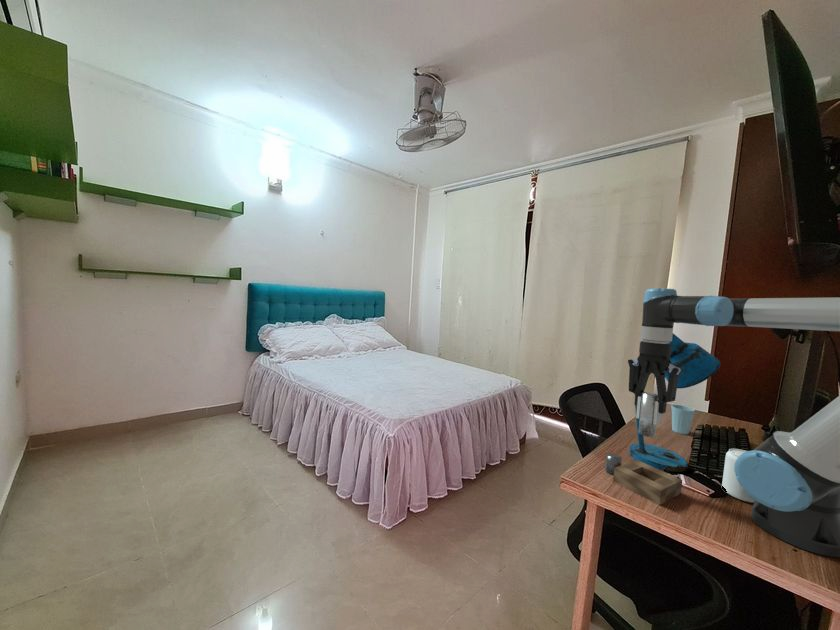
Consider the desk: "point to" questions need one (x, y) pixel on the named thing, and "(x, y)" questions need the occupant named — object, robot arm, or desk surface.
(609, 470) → the stub pin
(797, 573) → the desk surface
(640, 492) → the tan square frame
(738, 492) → the beverage can
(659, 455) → the desk lamp
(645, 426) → the tall pin
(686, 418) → the cup
